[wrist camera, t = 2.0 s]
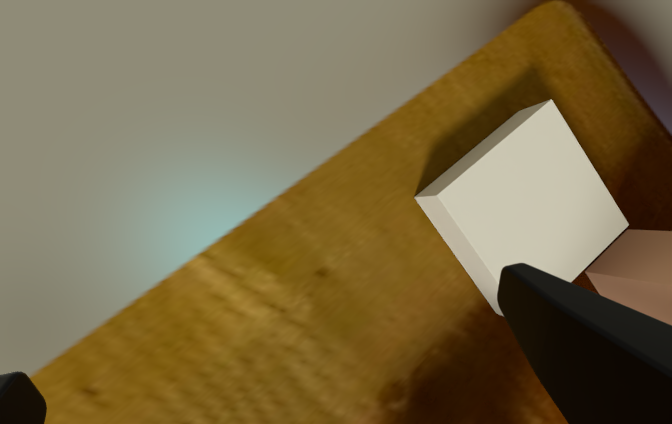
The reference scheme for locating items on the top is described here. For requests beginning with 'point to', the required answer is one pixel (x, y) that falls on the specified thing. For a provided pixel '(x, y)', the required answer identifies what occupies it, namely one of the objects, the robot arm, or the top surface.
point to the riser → (523, 202)
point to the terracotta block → (637, 272)
